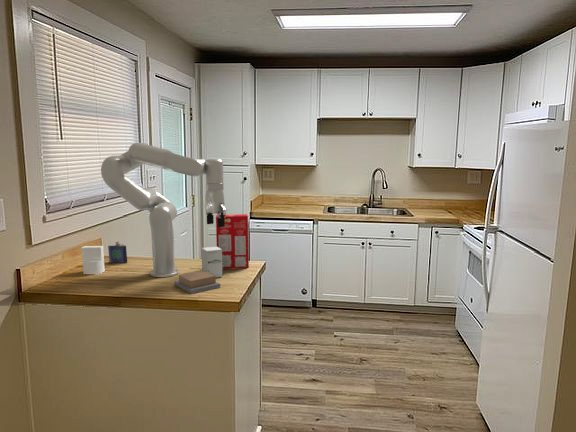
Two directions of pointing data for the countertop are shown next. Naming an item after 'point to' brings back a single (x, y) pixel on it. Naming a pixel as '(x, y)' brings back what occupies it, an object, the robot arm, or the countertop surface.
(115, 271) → the countertop surface
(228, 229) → the food packaging
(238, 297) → the countertop surface
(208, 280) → the pedestal
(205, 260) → the supplement box
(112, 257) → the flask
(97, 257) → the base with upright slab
